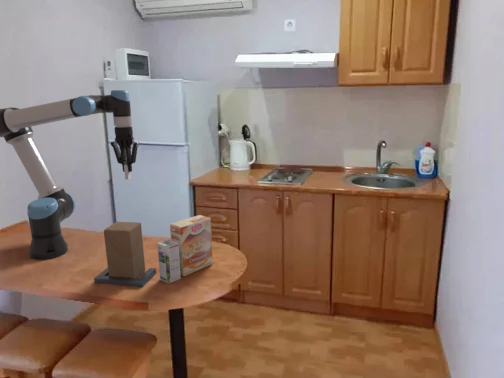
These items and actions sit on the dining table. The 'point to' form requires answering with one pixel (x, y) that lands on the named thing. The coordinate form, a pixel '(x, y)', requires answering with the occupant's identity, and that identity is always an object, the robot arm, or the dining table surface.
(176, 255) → the syrup box
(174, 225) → the coffeecake box
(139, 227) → the wooden block
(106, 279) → the dock
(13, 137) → the robot arm
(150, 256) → the dining table surface
